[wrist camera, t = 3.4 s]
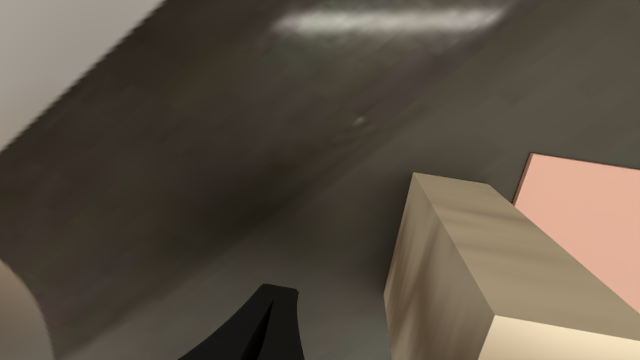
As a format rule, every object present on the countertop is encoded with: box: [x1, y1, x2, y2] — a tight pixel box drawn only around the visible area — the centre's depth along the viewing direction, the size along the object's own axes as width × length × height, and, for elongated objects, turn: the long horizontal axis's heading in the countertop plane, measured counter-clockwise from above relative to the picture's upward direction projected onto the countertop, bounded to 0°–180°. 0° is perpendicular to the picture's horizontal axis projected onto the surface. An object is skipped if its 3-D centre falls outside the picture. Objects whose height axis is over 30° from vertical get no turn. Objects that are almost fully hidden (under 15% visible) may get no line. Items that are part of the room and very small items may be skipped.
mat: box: [512, 153, 640, 314], centre depth 18 cm, size 12×12×1 cm
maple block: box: [384, 172, 640, 360], centre depth 14 cm, size 8×4×11 cm, turn 172°
